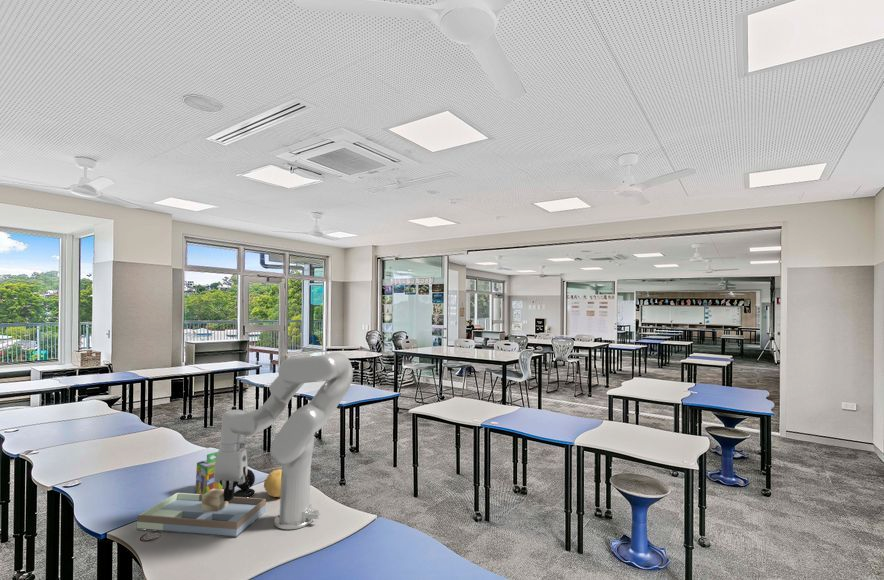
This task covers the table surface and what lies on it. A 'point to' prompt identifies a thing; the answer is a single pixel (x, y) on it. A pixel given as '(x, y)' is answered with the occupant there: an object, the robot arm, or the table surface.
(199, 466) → the chalk box
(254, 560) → the table surface
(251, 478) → the webcam
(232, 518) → the box
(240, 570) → the table surface
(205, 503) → the block
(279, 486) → the stress ball
